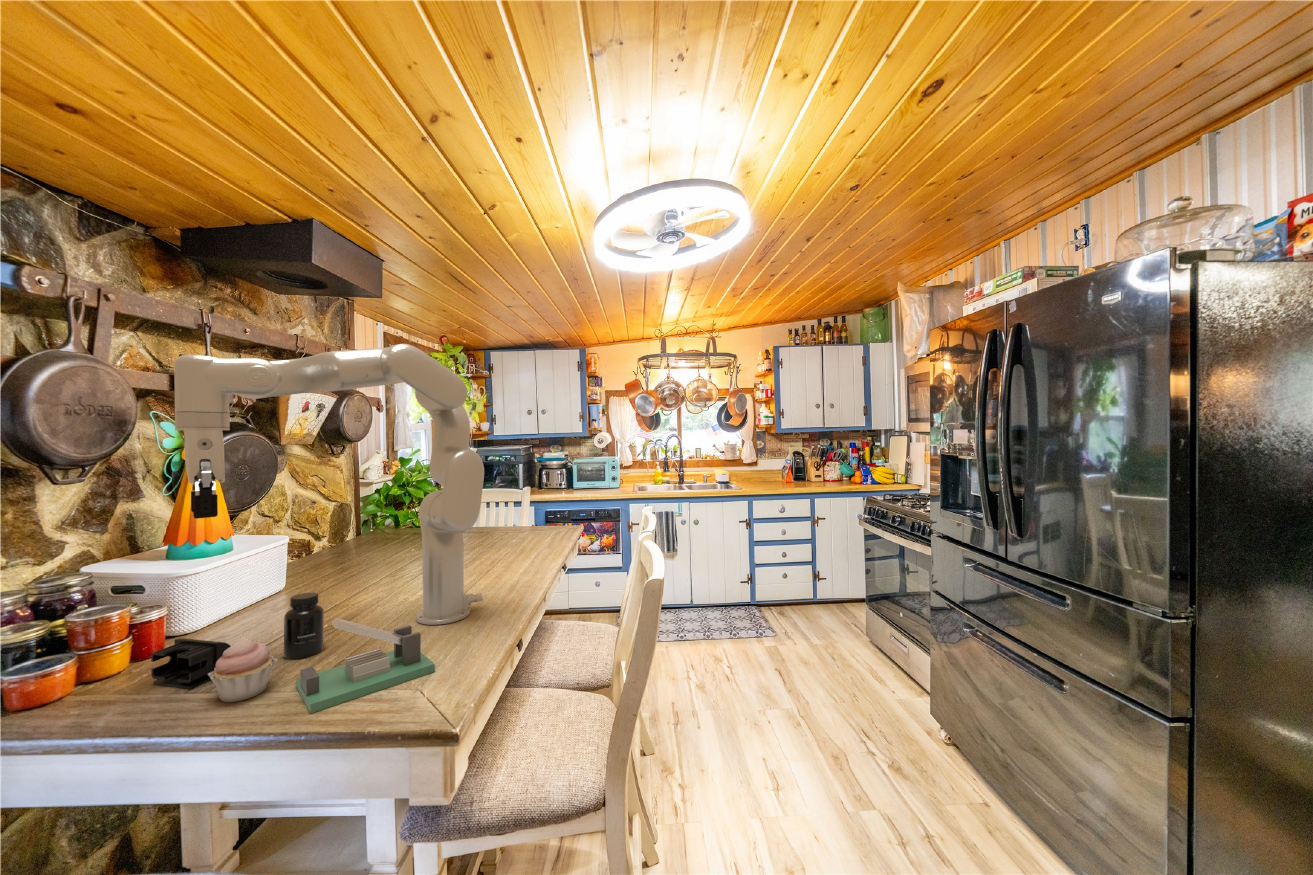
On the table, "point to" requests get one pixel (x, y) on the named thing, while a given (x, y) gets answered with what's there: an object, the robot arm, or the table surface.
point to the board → (365, 673)
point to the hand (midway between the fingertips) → (204, 514)
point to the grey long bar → (367, 631)
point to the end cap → (187, 663)
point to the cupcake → (242, 671)
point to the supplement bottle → (303, 626)
